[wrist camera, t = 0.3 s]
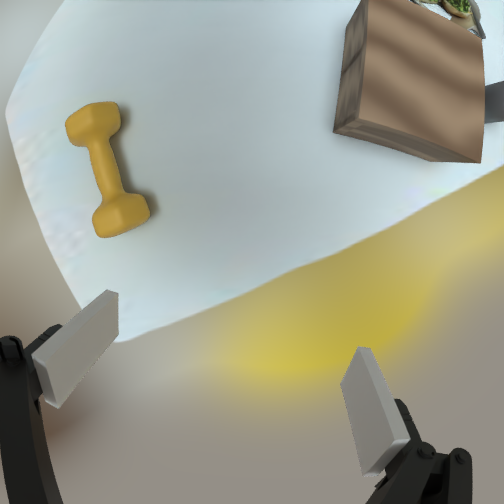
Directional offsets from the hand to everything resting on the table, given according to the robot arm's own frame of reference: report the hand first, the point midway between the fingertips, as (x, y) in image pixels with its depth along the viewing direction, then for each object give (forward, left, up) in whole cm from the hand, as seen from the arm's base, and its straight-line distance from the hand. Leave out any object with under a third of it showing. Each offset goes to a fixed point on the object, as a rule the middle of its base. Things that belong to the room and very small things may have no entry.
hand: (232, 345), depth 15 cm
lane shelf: (-24, +16, -28) cm, 40 cm away
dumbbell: (-6, -22, -28) cm, 36 cm away
